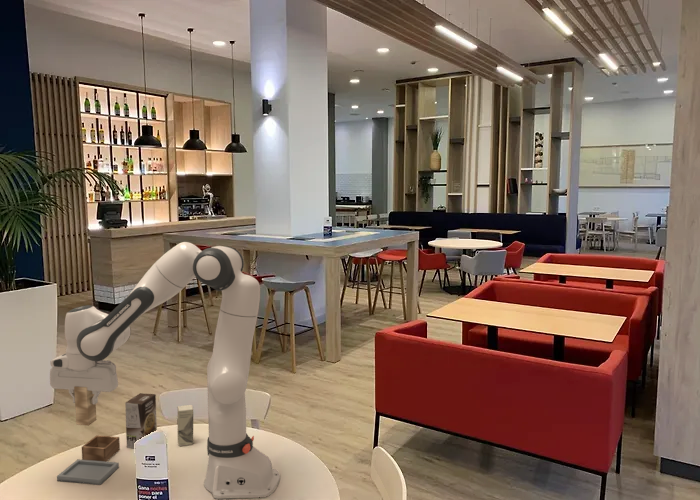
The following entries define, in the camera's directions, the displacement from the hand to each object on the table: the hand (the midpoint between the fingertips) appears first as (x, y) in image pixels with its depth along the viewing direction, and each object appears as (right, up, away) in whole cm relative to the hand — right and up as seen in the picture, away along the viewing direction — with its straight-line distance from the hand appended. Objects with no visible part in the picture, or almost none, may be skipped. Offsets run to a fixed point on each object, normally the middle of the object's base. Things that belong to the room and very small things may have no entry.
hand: (85, 403), depth 163 cm
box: (+23, -21, +23) cm, 39 cm away
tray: (0, -23, +3) cm, 23 cm away
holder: (-2, -21, +14) cm, 26 cm away
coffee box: (+8, -21, +23) cm, 32 cm away
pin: (0, -6, +1) cm, 6 cm away
